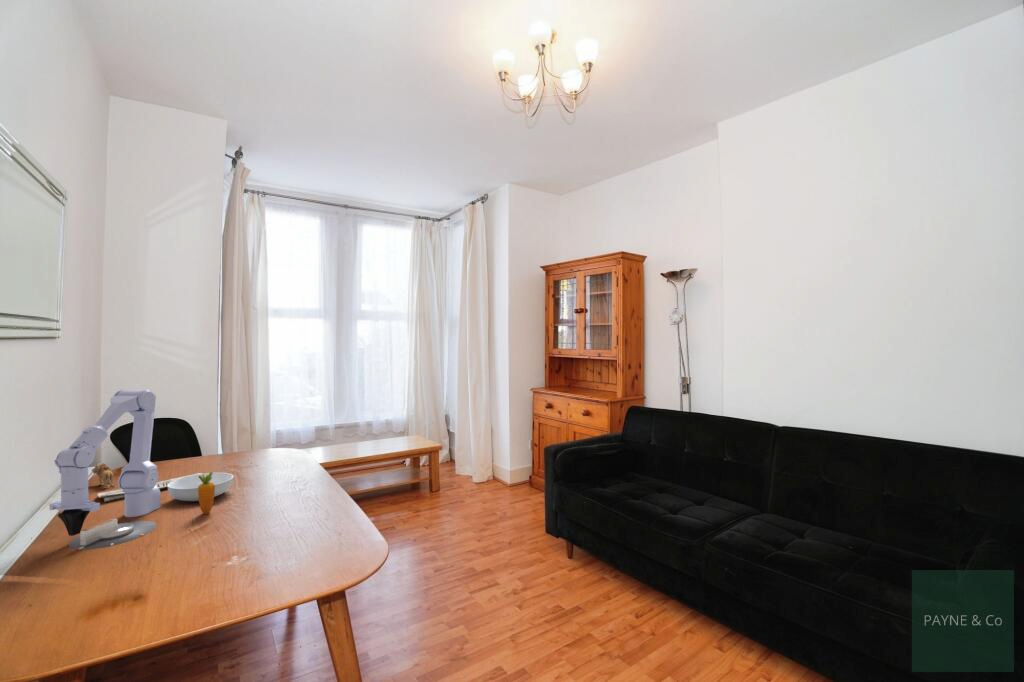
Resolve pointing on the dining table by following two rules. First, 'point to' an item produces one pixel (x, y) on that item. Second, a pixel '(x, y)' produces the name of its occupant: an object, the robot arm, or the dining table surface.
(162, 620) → the dining table surface
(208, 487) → the carrot
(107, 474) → the lion figurine
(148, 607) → the dining table surface
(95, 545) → the dial plate
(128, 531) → the grey bar on dome
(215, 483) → the serving bowl
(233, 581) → the dining table surface
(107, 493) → the piano keyboard
